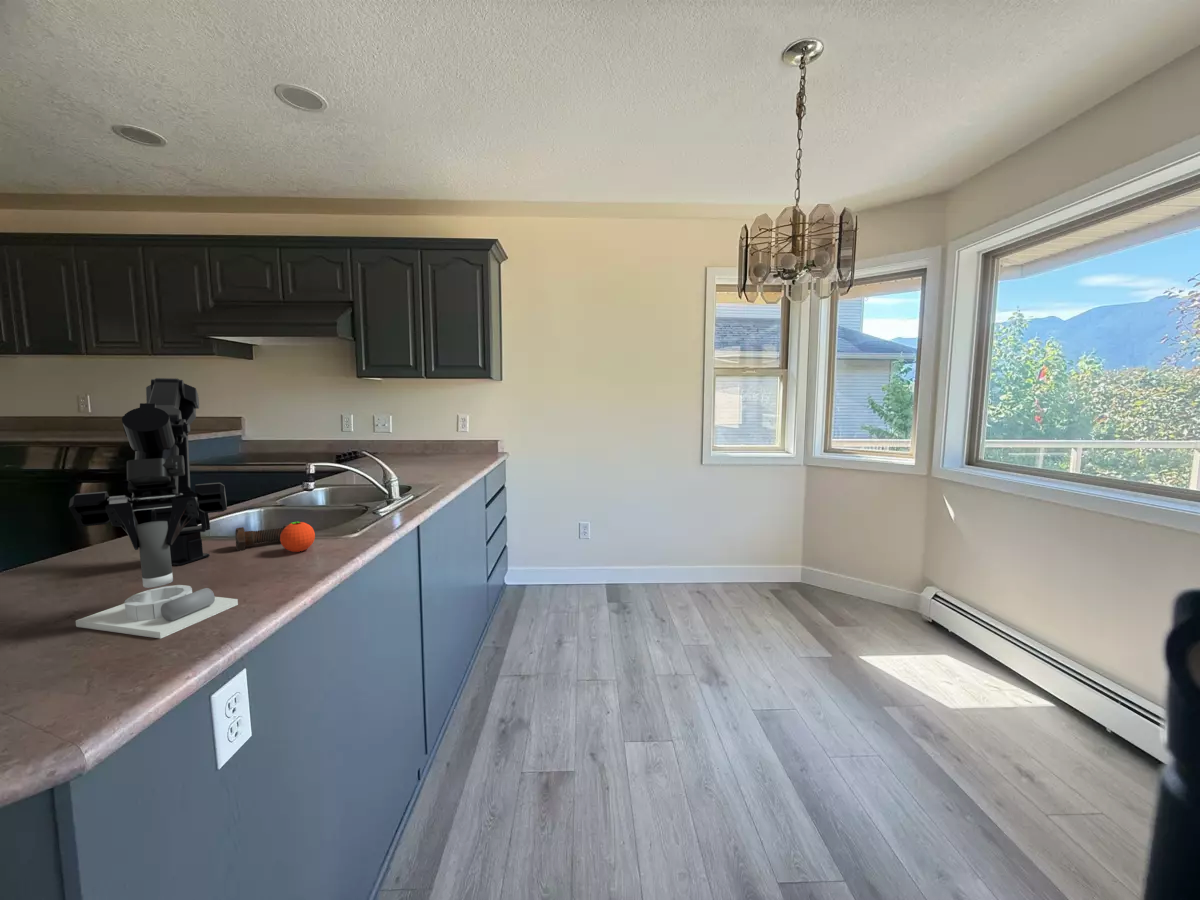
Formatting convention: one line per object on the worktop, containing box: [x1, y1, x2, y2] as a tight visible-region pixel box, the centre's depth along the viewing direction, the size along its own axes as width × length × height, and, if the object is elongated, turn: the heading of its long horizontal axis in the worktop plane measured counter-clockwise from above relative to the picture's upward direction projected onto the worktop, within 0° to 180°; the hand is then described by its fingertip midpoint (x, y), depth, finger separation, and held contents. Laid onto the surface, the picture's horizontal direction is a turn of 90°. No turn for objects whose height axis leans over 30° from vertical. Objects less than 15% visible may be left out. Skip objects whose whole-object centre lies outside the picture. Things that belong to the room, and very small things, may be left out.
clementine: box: [279, 521, 316, 553], centre depth 111 cm, size 8×7×7 cm
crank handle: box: [137, 521, 174, 589], centre depth 77 cm, size 4×4×10 cm
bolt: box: [234, 523, 290, 551], centre depth 117 cm, size 6×5×15 cm
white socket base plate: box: [75, 584, 239, 640], centre depth 78 cm, size 17×12×4 cm
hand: (153, 546), depth 76 cm, fingers closed on crank handle, 4 cm apart
